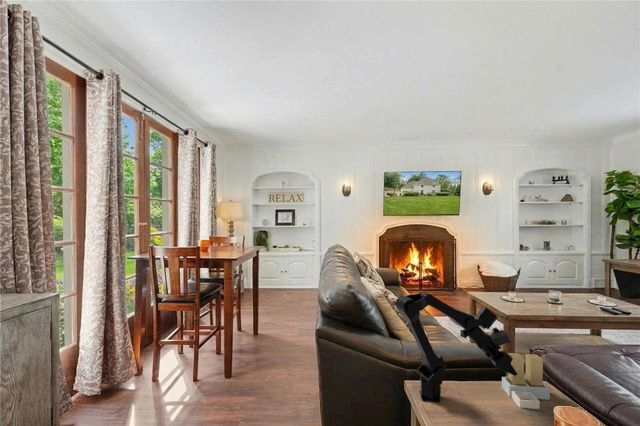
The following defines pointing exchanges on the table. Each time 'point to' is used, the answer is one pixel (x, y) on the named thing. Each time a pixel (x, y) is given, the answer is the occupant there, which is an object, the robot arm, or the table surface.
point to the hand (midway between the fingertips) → (510, 368)
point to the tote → (529, 403)
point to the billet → (517, 370)
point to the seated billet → (534, 370)
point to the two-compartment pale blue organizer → (526, 389)
